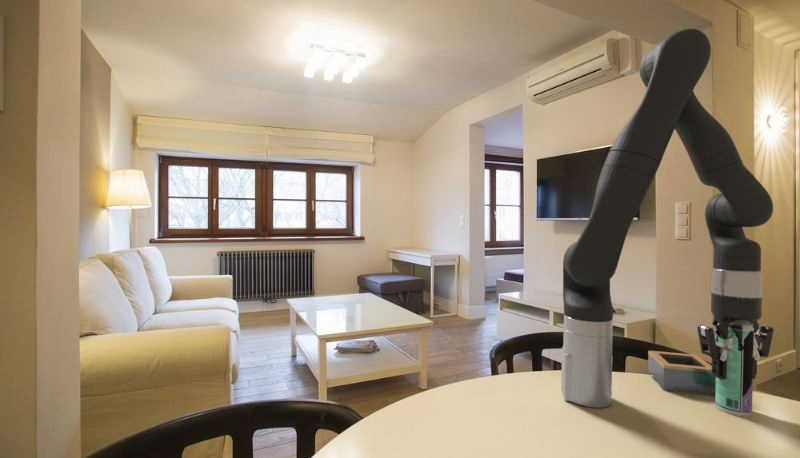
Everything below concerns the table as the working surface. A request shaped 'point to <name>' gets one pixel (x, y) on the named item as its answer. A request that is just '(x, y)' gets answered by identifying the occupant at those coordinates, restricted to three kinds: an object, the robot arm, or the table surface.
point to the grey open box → (682, 373)
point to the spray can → (737, 371)
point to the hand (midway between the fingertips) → (734, 377)
